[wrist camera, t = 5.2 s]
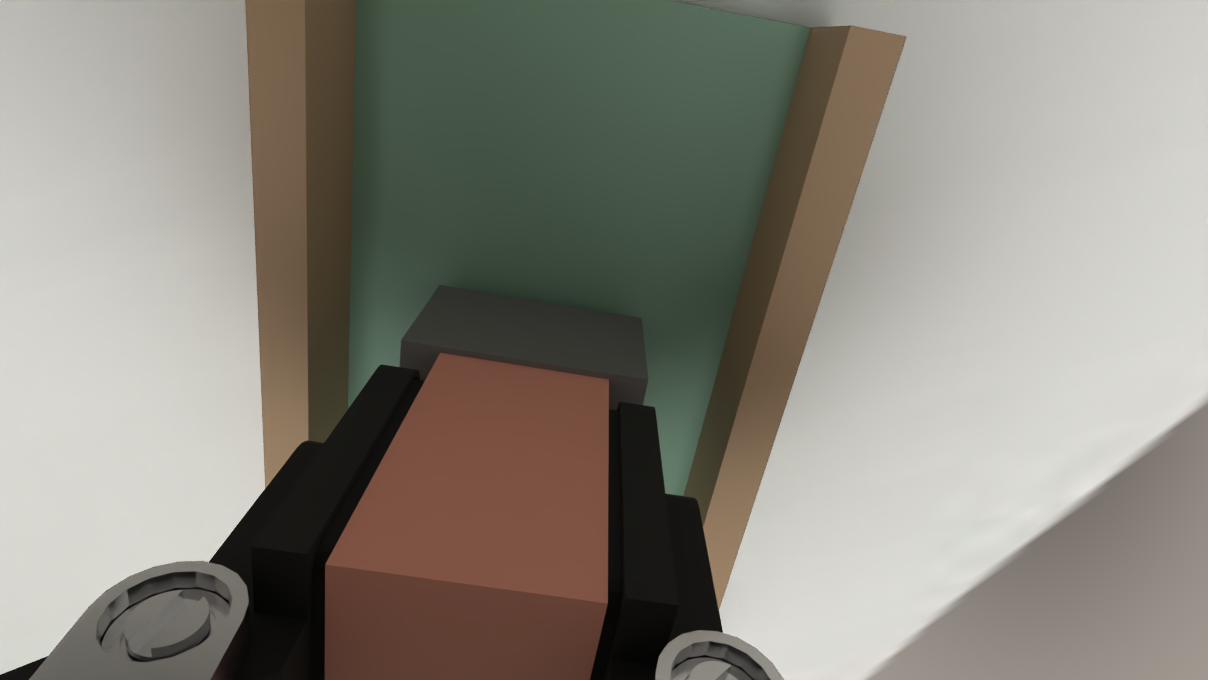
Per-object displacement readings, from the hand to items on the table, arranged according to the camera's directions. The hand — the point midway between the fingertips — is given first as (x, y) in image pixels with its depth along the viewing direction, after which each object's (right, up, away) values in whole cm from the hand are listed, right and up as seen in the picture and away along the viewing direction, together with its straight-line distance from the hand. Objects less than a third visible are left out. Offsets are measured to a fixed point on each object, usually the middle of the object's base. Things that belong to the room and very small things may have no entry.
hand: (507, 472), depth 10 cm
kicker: (0, +1, +3) cm, 3 cm away
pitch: (-1, -1, +6) cm, 6 cm away
